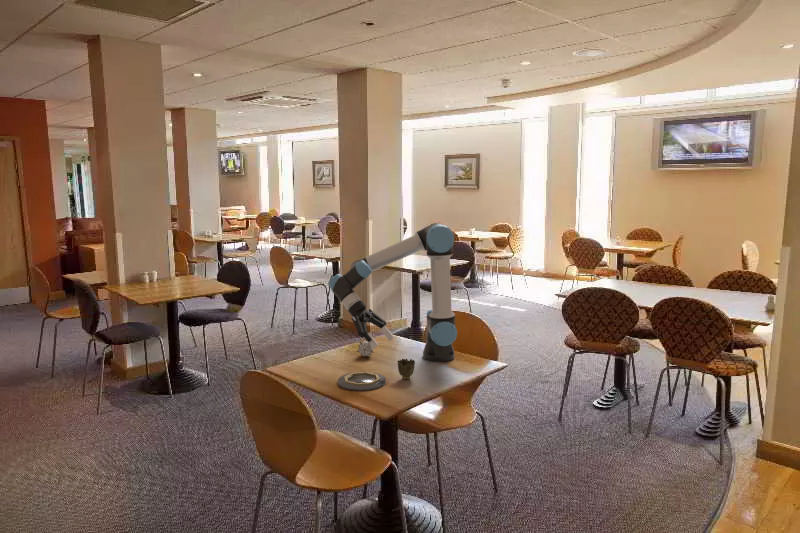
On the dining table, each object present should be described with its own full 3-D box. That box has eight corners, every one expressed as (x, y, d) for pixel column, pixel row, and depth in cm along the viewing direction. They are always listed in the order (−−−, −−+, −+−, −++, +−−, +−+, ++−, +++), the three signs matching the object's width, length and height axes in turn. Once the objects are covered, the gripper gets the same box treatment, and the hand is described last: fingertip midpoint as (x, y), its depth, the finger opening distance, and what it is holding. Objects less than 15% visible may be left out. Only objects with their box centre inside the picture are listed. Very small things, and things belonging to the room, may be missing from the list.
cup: (394, 380, 247) (394, 362, 246) (400, 375, 254) (400, 357, 253) (411, 383, 244) (411, 364, 243) (417, 377, 251) (417, 359, 250)
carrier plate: (381, 372, 257) (381, 368, 257) (389, 388, 238) (389, 384, 237) (335, 376, 253) (335, 371, 253) (340, 392, 234) (340, 387, 233)
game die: (364, 362, 283) (366, 343, 288) (377, 359, 278) (379, 340, 283) (351, 357, 277) (354, 337, 282) (364, 354, 272) (366, 334, 277)
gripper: (364, 304, 269) (392, 340, 264) (333, 316, 247) (363, 355, 243) (373, 294, 266) (403, 330, 261) (343, 305, 244) (374, 344, 239)
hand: (384, 342), depth 252 cm, fingers open, 13 cm apart
